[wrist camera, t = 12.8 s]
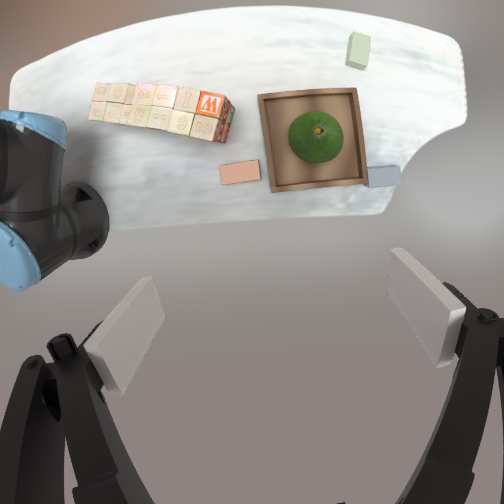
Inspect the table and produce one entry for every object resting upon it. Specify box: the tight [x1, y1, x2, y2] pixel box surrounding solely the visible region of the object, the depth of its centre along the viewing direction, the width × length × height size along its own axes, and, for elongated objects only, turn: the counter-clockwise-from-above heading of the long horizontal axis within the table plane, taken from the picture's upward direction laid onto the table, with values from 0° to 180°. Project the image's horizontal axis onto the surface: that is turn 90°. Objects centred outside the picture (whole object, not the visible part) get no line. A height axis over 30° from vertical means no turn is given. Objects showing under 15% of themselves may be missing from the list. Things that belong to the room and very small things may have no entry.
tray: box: [257, 88, 368, 193], centre depth 43 cm, size 16×16×3 cm
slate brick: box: [364, 165, 401, 188], centre depth 45 cm, size 6×3×3 cm, turn 100°
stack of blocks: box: [88, 83, 235, 143], centre depth 39 cm, size 21×6×12 cm, turn 75°
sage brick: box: [345, 31, 371, 70], centre depth 38 cm, size 6×3×3 cm, turn 169°
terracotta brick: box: [219, 160, 261, 185], centre depth 46 cm, size 6×3×3 cm, turn 98°
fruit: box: [288, 111, 344, 163], centre depth 39 cm, size 8×8×12 cm
